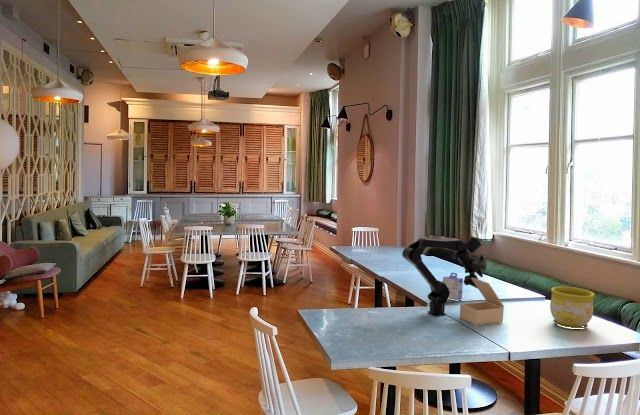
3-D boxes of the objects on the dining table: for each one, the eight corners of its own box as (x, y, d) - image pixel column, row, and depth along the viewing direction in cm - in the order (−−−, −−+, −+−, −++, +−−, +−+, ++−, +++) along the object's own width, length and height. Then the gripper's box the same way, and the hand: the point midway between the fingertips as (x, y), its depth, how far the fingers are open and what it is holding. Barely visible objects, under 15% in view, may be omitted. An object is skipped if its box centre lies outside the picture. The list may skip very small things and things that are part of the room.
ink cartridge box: (462, 300, 270) (463, 274, 268) (458, 302, 265) (460, 275, 264) (445, 297, 276) (446, 271, 274) (441, 299, 271) (442, 272, 270)
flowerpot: (597, 334, 220) (600, 297, 218) (554, 330, 223) (556, 294, 222) (584, 321, 237) (587, 288, 236) (544, 318, 241) (546, 285, 239)
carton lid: (488, 284, 227) (489, 283, 227) (471, 278, 237) (472, 277, 238) (503, 308, 231) (504, 306, 232) (486, 301, 242) (487, 300, 242)
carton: (475, 325, 226) (476, 310, 226) (459, 318, 237) (460, 303, 236) (502, 322, 232) (503, 307, 231) (485, 315, 243) (486, 301, 242)
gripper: (477, 267, 234) (493, 291, 238) (483, 243, 248) (498, 267, 252) (456, 273, 241) (472, 296, 245) (463, 249, 255) (477, 272, 259)
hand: (480, 282), depth 250 cm, fingers open, 9 cm apart
